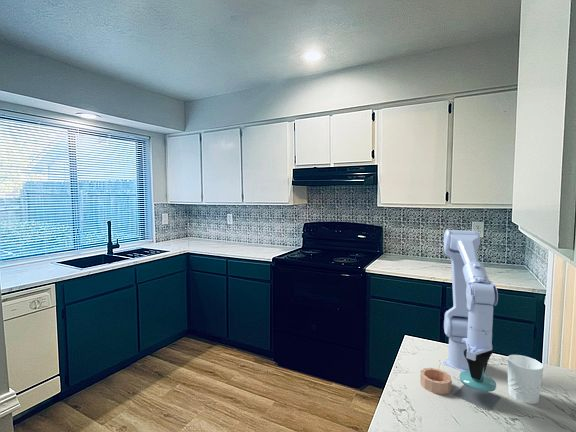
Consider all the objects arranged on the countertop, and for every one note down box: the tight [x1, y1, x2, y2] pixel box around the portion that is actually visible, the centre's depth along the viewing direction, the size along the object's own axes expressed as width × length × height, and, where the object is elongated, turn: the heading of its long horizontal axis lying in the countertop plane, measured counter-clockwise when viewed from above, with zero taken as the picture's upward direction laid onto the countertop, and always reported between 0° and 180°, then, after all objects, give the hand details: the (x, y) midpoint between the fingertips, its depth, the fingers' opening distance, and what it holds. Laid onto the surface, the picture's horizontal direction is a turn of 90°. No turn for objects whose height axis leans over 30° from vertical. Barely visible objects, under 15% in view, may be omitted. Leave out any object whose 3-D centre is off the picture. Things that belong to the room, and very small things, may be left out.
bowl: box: [419, 367, 453, 395], centre depth 93 cm, size 8×8×3 cm
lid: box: [459, 368, 497, 393], centre depth 88 cm, size 9×9×5 cm
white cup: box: [506, 354, 544, 405], centre depth 88 cm, size 8×8×10 cm
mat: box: [452, 384, 502, 412], centre depth 88 cm, size 9×9×1 cm
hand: (477, 375), depth 88 cm, fingers closed on lid, 3 cm apart
